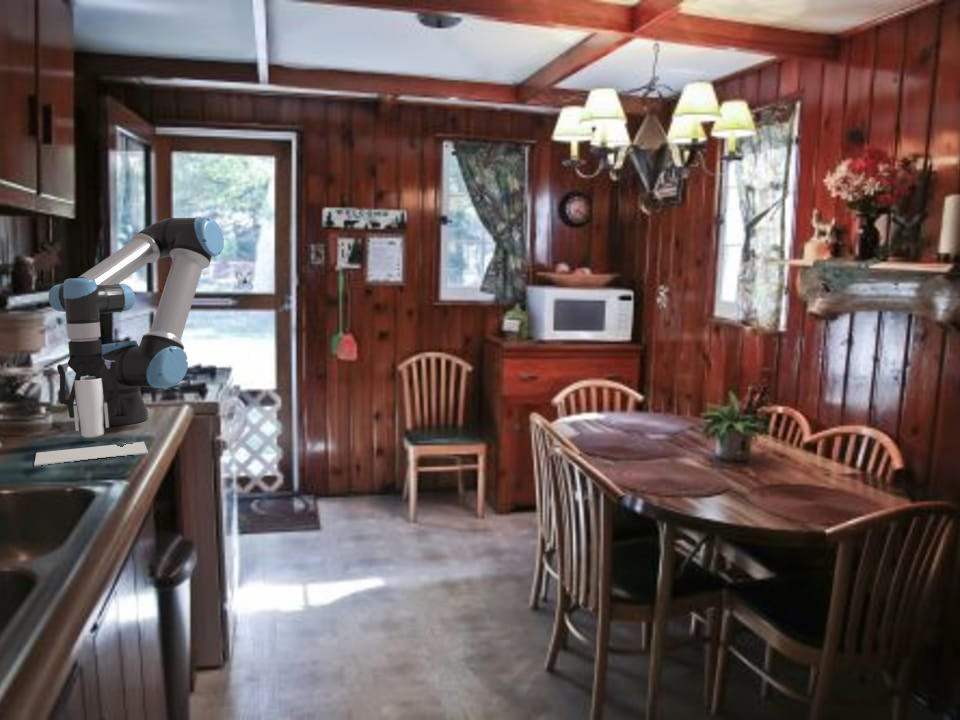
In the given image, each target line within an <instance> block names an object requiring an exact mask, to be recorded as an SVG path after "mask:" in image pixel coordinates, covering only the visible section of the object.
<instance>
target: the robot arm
mask: <svg viewBox="0 0 960 720" xmlns="http://www.w3.org/2000/svg"><path fill="white" fill-rule="evenodd" d="M224 240H225V239H224V234H223V231H222V229H221V227H220V224H218V222H217V221H215V220H214V219H213V218H211V217H207V216H206V217H202V216H196V217H169V218H163V219H161V220H159V221H156V222H154V223H152V224H151V225H148V226H147V227H145V228H144V229H142V230H140V231H138V232H137V233H135V234H134V235H133V236H132V237H131V239H130V241H129V243H127V244H126V245H124V246H122V247H121V248H120V249H118V250H117V251H115V252H114V253H113V254H112V253H111V255H109V256H108V257H106V258H105V259H103V260H102V261H101V262H99V263H97V264H96V265H94V266H93V267H91V268H90V269H88V270H87V271H85V272H84V273H82V274H81V275H80V276H78V277H77V278H67V279H65V280H64V281H63V283H59V284H56V285H53V286H52V287H51V288H50V289H49V291H48V298H47V299H48V303H49V305H50V307H51V308H52V309H53V310H55V311H57V312H60V313H61V312H62V313H65V320H66V333H67V339H68V340H69V341H68V352H69V353H68V354H69V355H68V356H69V359H68V361H67V362H65V363H62V364H61V363H59V364H57V367H56V369H57V371H58V375H59V404H60V405H66V406H67V408H68V417H69V418H70V419H74V427H75V431H76V432H79V431H80V430H79V429H80V423H79V416H78V411H77V405H76V403H75V401H76V400H75V396H76V395H75V380H80V379H81V377H88V376H89V377H90V376H95V377H96V379H99V378H101V379H102V386H103V394H104V427H105V428H106V429H107V428H110V426H112V427H113V426H122V425H123V426H124V425H132V424H138V423H142V422H145V421H147V420H149V410H148V409H147V408H146V406H145V401H144V400H143V399H144V398H143V396H142V393H141V388H153V389H154V388H155V389H162V388H164V389H165V388H172V387H174V386H177V385H178V384H180V383H181V382H182V380H183V379H184V377H185V376H186V374H187V371H188V366H189V362H188V356H187V354H186V351H185V350H184V349H185V346H184V344H183V343H182V337H183V334H184V330H185V327H186V324H187V321H188V317H189V315H190V311H191V308H192V304H193V301H194V298H195V294H196V291H197V288H198V285H199V282H200V278H201V275H202V272H203V270H205V269H206V268H208V267H210V264H211V261H212V260H211V259H212V258H213V257H217V256H220V254H221V253H222V252H223V250H224V246H225V241H224ZM168 257H170V258H171V259H172V262H171V265H170V267H169V268H170V269H169V272H168V274H167V275H168V276H167V278H166V281H165V284H164V288H163V291H162V294H161V296H160V300H159V303H158V304H157V305H158V306H157V309H156V311H155V315H154V318H153V321H152V325H151V327H150V330H149V332H147V333H145V334H143V335H142V337H141V340H140V343H139V344H138V341H137V340H135V339H134V340H128V341H119V342H112V343H105V344H102V340H101V339H100V338H101V336H102V334H101V322H100V321H101V320H100V315H102V314H112V313H123V312H128V311H130V310H131V309H132V308H133V307H134V305H135V304H136V303H135V302H136V294H135V292H134V290H133V288H132V287H131V286H129V285H128V284H126V283H122V282H123V281H125V280H126V279H127V278H129V277H130V276H131V275H133V274H134V273H136V272H137V271H139V270H140V269H141V268H143V267H144V266H146V265H147V264H148V263H149V264H153V263H155V262H157V261H158V260H161V259H163V258H168ZM68 368H70V369H71V370H72V371H73V372H74V373H75V376H74V379H73V382H72V387H71V389H70V394H69V397H68V398H66V373H67V372H68Z"/></svg>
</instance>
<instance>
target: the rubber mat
mask: <svg viewBox="0 0 960 720" xmlns="http://www.w3.org/2000/svg"><path fill="white" fill-rule="evenodd" d="M132 443H133V444H126V443H125V444H126V445H124V446H123V447H120V446H117V445H116V444H110V445H109V444H108V445H97V446H89V447H79V448H70V449H69V448H68V449H61V450H51V451H50V450H49V451H48V450H47V451H41V452H40V451H39V452H36V453H35V459H34V462H33V463H34V464H33V466H34V467H41V465H43V466H49V465H48V464H52V465H56V464H55V463H61V464H65V463H64V462H71V463H75V462H74V461H80V460H88V459H97V458H106V457H116V456H125V457H128V456H127V455H134V456H141V455H143V456H144V455H149V451H148V447H147V446H146V444H145V441H137V442H132ZM116 458H117V457H116ZM80 462H81V461H80Z"/></svg>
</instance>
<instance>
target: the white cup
mask: <svg viewBox="0 0 960 720" xmlns="http://www.w3.org/2000/svg"><path fill="white" fill-rule="evenodd" d="M75 395H76V396H75V400H74V401H75V404H76V405H77V413H78V422H79V428H80V434H81V437H83V438H96V437H102V436H103V435H104V433H105V426H104V394H103V386H102V379H101V378H99V379H96V377H95V375H94V376H90V375H89V376H82V377H81V379H80V380H75Z"/></svg>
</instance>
